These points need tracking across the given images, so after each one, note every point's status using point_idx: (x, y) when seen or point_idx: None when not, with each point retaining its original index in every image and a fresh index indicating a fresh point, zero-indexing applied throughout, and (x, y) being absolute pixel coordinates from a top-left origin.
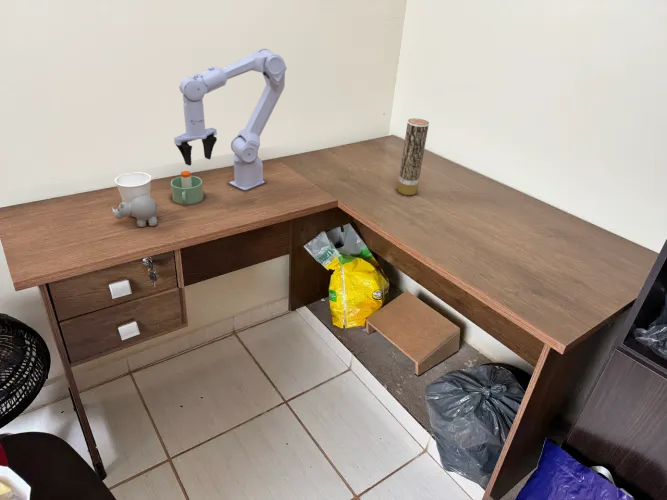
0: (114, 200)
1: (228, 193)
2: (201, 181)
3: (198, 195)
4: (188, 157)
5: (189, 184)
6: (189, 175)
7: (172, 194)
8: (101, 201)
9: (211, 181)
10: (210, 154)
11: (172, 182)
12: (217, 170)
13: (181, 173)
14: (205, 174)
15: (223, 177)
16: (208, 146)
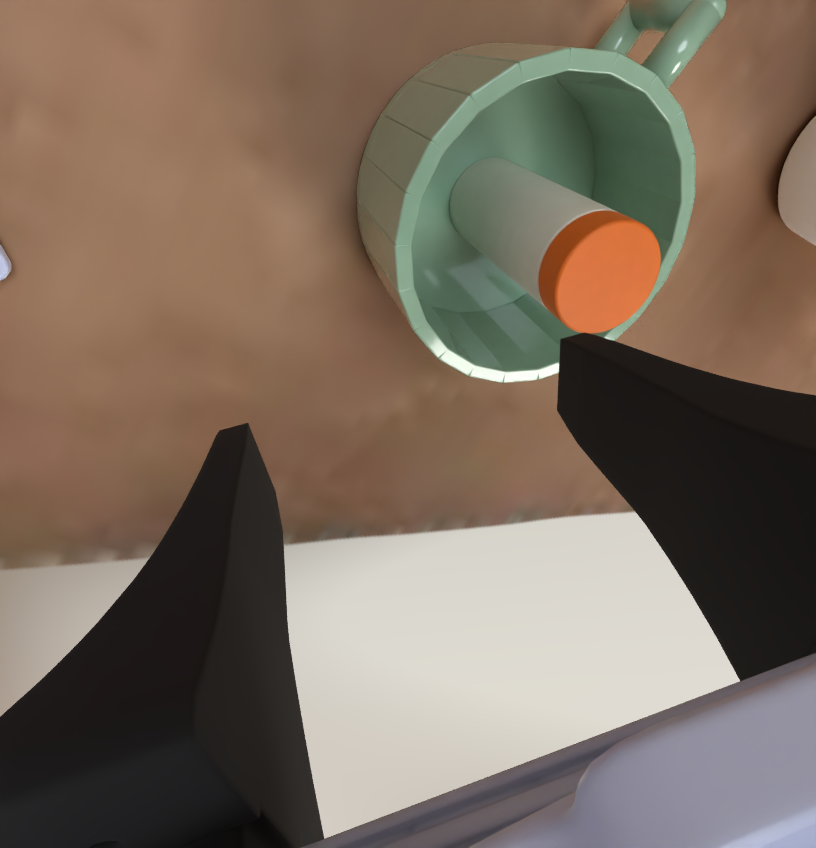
0: (769, 383)
1: (93, 44)
2: (430, 163)
3: (486, 51)
4: (701, 371)
5: (551, 186)
6: (594, 218)
7: None
8: None
9: (176, 387)
10: (222, 466)
11: None
12: (56, 538)
13: (649, 286)
14: (178, 506)
15: (38, 416)
16: (247, 599)
